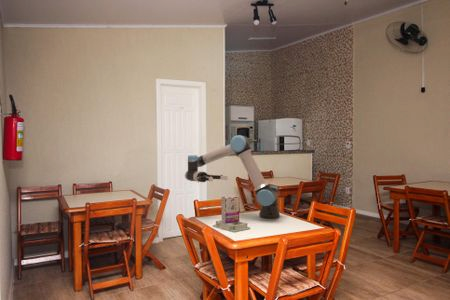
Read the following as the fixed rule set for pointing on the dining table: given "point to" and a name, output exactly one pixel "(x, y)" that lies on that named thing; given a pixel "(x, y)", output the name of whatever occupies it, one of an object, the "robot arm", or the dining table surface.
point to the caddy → (232, 226)
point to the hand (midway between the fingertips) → (219, 178)
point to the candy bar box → (230, 209)
